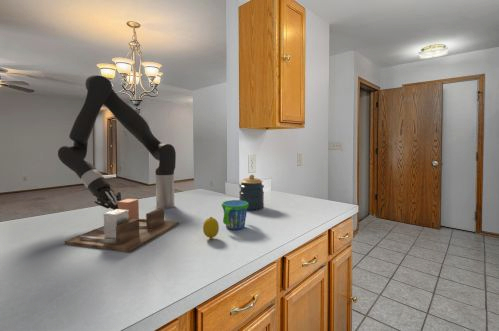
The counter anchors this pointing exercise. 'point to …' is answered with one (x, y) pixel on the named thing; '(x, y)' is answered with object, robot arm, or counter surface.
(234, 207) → the snack cup
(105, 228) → the steel slider
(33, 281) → the counter surface
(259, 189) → the canister
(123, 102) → the robot arm
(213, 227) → the lemon
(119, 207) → the terracotta slider
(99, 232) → the board
